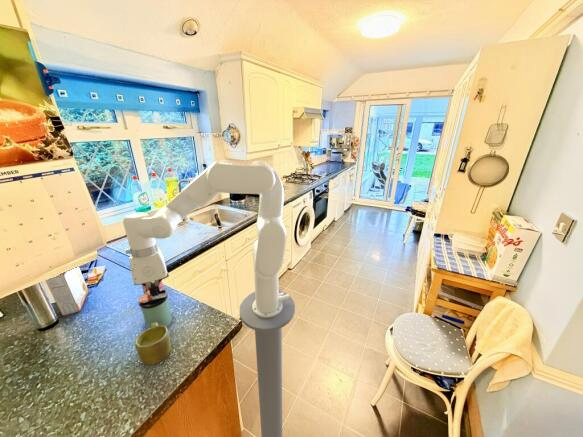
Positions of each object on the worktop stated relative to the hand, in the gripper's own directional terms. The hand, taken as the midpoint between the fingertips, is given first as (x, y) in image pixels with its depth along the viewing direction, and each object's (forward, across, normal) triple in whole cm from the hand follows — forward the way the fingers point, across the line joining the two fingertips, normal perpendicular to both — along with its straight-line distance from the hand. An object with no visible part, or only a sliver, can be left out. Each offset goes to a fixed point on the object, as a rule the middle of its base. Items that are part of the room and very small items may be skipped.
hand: (155, 293), depth 85 cm
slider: (+1, -3, 0) cm, 3 cm away
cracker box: (+13, -32, +28) cm, 45 cm away
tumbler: (+13, -1, 0) cm, 13 cm away
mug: (+13, -2, -13) cm, 19 cm away
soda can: (+13, -2, +13) cm, 19 cm away
